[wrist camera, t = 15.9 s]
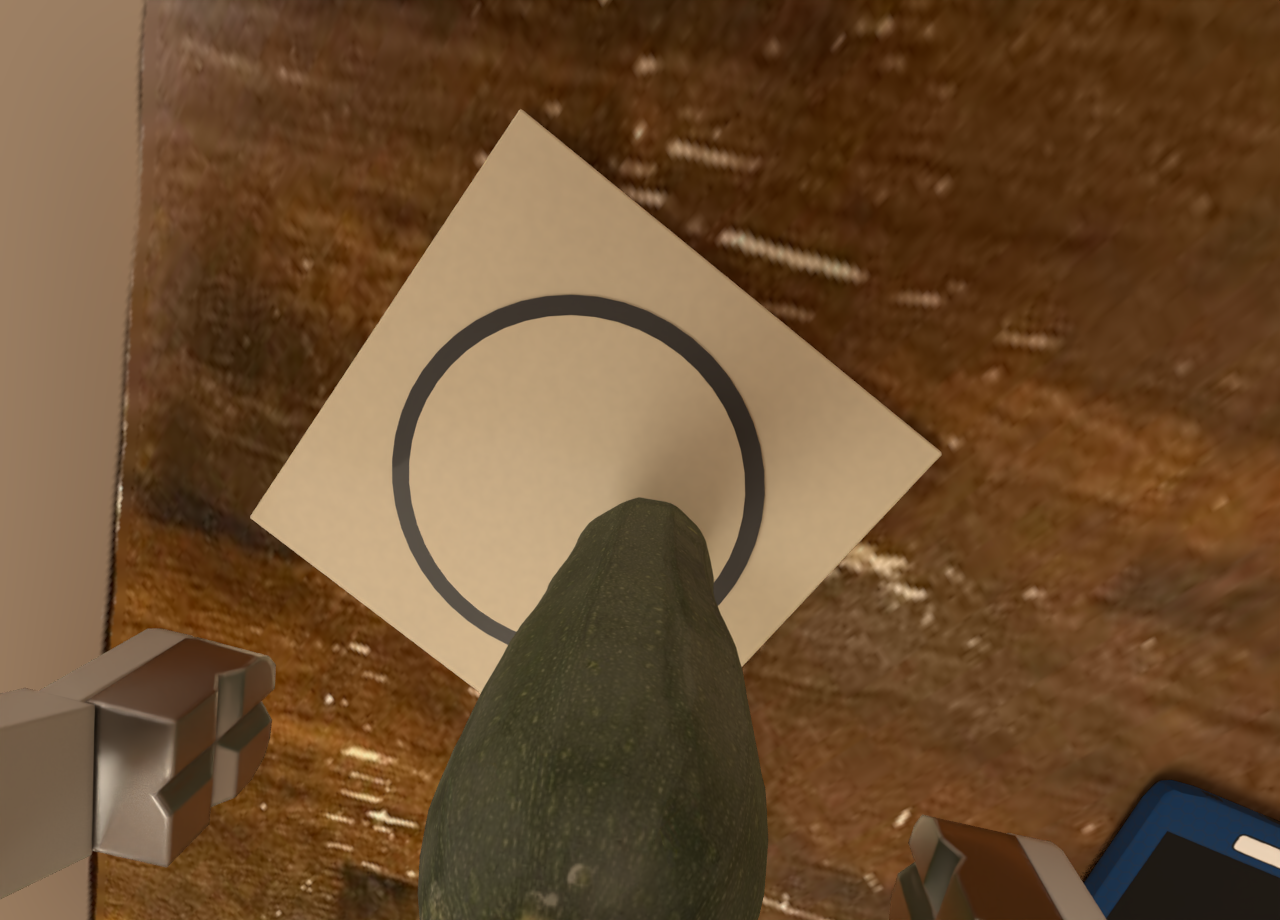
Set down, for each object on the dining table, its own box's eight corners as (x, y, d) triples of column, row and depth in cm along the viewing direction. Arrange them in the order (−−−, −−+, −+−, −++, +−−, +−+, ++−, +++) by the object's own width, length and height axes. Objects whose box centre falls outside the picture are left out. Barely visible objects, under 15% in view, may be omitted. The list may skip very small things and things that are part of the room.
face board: (259, 512, 25) (245, 519, 24) (525, 112, 21) (518, 106, 20) (620, 787, 26) (617, 801, 25) (937, 449, 22) (945, 454, 21)
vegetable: (582, 468, 22) (-271, 1521, 3) (717, 434, 22) (724, 1504, 2) (621, 597, 23) (137, 2085, 4) (752, 568, 23) (972, 2194, 3)
